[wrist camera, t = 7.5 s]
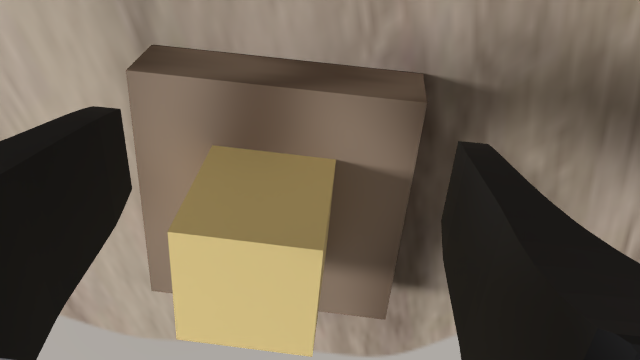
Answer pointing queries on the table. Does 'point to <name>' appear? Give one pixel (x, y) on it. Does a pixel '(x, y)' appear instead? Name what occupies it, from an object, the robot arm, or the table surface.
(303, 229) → the mustard block
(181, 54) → the walnut plinth
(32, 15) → the table surface
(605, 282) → the robot arm
